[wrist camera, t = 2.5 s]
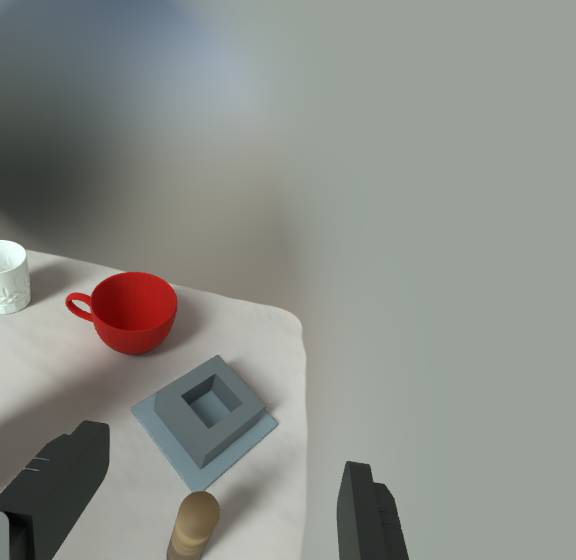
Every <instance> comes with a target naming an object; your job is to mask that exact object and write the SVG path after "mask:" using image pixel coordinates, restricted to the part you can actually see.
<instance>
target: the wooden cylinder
mask: <svg viewBox="0 0 576 560" xmlns="http://www.w3.org/2000/svg"><path fill="white" fill-rule="evenodd" d="M219 513H220V511H219V505H218V502H217V500H216V499H215V498H214V496H212V495H211V494H210V493H208V492H205V491H197V492H194V493H191V494H190V495H188V496H187V497H186V498H185V499H184V500H183V502H182V503H181V506H180V508H179V512H178V515H177V519H176V522H175V525H174V529H173V532H172V536H171V539H170V543H169V546H168V550H167V560H198V559H199V557H200V555H201V553H202V551H203V549H204V547H205V545H206V543H207V541H208V540H209V538H210V536H211V534H212V532H213V530H214V528H215V526H216V524H217V522H218V519H219Z"/></svg>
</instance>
